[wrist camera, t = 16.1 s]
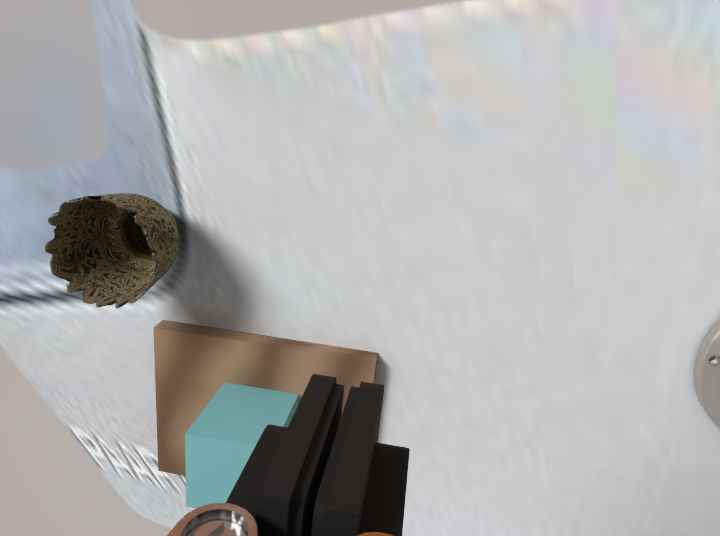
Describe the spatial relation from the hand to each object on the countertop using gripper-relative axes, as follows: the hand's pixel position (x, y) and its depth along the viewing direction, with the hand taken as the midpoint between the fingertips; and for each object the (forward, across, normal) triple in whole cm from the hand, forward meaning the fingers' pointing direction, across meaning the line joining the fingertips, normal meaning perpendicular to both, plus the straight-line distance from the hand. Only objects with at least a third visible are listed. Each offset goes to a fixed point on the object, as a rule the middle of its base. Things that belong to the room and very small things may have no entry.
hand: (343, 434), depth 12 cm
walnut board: (+27, +10, +19) cm, 35 cm away
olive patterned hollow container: (+27, +19, +4) cm, 34 cm away
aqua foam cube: (+26, +10, +19) cm, 33 cm away
